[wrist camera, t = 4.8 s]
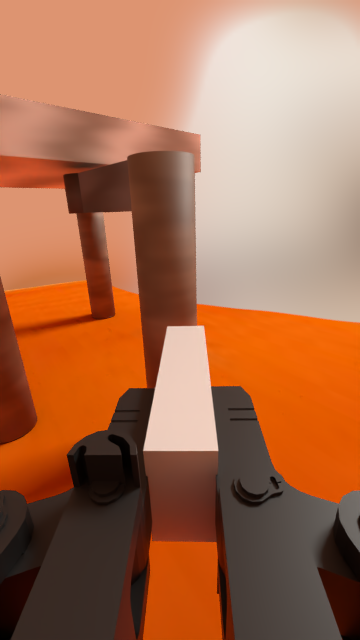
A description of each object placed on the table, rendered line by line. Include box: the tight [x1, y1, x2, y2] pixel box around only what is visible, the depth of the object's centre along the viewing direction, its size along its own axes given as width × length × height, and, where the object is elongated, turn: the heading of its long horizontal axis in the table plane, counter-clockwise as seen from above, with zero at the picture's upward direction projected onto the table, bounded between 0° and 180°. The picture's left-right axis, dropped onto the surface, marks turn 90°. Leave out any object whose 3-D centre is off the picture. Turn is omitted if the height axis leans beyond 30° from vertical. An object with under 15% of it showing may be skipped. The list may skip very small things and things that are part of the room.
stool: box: [0, 94, 201, 444], centre depth 25 cm, size 18×18×18 cm
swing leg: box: [63, 151, 197, 388], centre depth 18 cm, size 10×3×15 cm, turn 43°
